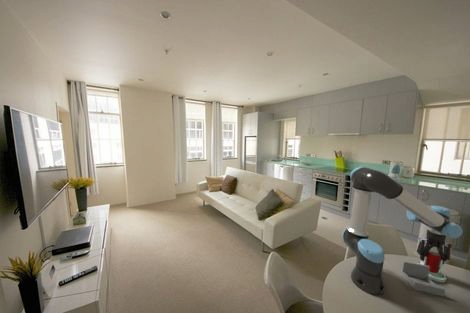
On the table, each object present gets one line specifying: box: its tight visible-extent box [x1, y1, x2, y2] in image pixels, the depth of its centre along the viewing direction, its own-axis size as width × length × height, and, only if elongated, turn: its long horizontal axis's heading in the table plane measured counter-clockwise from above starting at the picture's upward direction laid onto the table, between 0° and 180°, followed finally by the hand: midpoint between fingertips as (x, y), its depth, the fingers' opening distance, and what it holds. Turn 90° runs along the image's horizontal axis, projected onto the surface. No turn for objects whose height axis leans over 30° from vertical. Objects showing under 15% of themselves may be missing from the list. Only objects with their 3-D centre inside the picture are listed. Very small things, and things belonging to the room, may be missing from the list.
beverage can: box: [426, 248, 441, 273], centre depth 104 cm, size 7×7×12 cm
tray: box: [415, 262, 447, 283], centre depth 105 cm, size 13×13×2 cm
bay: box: [400, 260, 446, 297], centre depth 97 cm, size 12×12×8 cm
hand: (430, 266), depth 105 cm, fingers closed on beverage can, 7 cm apart
